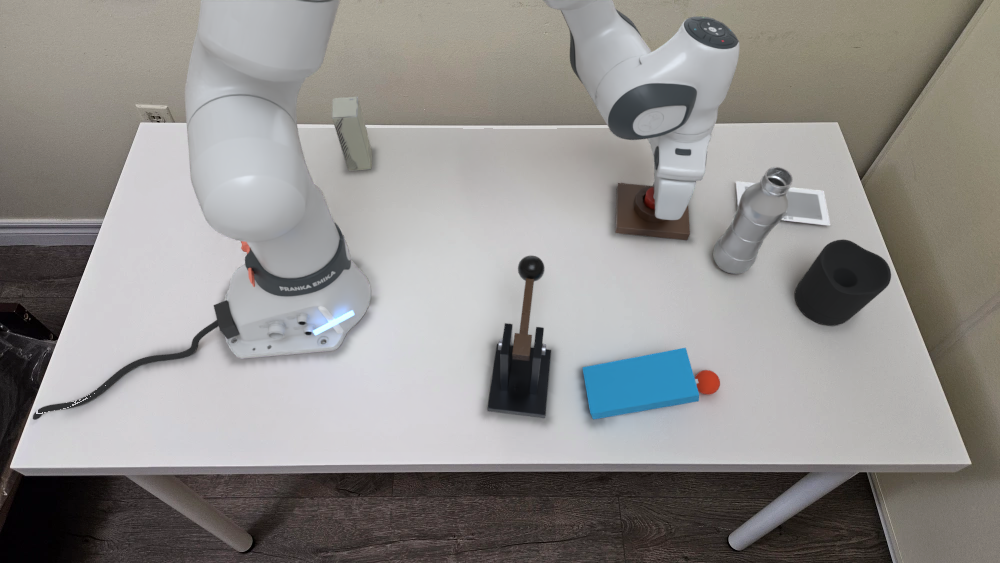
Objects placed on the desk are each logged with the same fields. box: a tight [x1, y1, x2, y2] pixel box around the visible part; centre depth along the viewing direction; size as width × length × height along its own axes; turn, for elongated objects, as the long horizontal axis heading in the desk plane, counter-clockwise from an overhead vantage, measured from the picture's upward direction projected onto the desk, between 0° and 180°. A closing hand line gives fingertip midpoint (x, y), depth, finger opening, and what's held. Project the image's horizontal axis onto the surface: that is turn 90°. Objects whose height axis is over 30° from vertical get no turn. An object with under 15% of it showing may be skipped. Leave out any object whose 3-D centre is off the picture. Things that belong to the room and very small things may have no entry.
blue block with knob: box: [582, 347, 721, 420], centre depth 80 cm, size 7×7×18 cm
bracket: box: [486, 322, 552, 419], centre depth 77 cm, size 10×8×13 cm
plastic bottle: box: [712, 166, 794, 275], centre depth 85 cm, size 6×7×20 cm
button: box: [644, 187, 655, 210], centre depth 96 cm, size 4×4×2 cm
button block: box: [614, 182, 691, 241], centre depth 98 cm, size 12×10×4 cm
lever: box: [512, 254, 545, 361], centre depth 75 cm, size 14×4×4 cm, turn 173°
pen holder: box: [794, 239, 892, 326], centre depth 85 cm, size 9×9×10 cm
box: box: [331, 96, 373, 172], centre depth 101 cm, size 5×4×13 cm
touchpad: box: [735, 180, 831, 227], centre depth 99 cm, size 8×15×2 cm, turn 81°
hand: (658, 193), depth 95 cm, fingers closed
